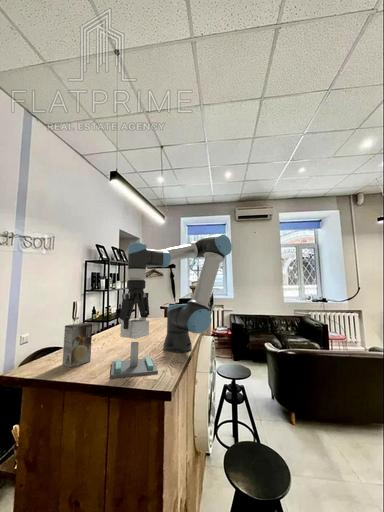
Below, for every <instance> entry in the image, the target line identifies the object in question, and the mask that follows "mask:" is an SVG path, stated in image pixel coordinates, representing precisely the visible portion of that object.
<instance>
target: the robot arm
mask: <svg viewBox="0 0 384 512" xmlns="http://www.w3.org/2000/svg"><path fill="white" fill-rule="evenodd" d="M232 247H233V246H232V242H231V239H230V238H229V237H228V236H227V235H225V234H223V233H220V234H215V235H211V236H206V237H203V238H200V239H197V240H194V241H189V242H188V243H187V244H183V245H178V246H173V247H167V248H163V249H151V248H148V247H147V244H146V243H144V242H131V243H130V244H128V252H127V281H126V282H127V283H126V288H127V290H128V291H127V293H122V295H121V299H122V300H121V307H120V314H119V320H121V321H124V327H123V328H124V337H123V338H126V339H127V338H128V339H131V338H130V336H131V321H130V320H131V317H132V313H133V309H134V306H135V305H136V304H137V308H138V312H139V315H140V316H139V317H138V319H141V320H147V318H149V315H150V305H149V296H150V295H149V292H145V291H144V290H145V289H146V284H147V283H146V281H147V280H145V279H147V272H146V271H147V268H158V267H161V268H166V267H169V266H170V264H171V263H172V262H176V261H180V260H185V259H190V258H191V259H196V258H204V261H203V264H202V267H201V270H200V274H199V276H198V280H197V281H196V282H197V283H196V286H195V289H194V292H193V296H192V298H191V299H190V300H188V301H187V303H182V304H181V303H180V304H171V305H168V306H167V310H166V311H167V312H166V315H167V316H166V317H167V318H166V319H167V320H166V335H165V339H164V341H163V347H162V348H163V350H164V352H165V351H166V352H169V353H185V351H186V352H189V351H192V348H193V346H192V341H191V337H190V333H191V334H203V333H205V332H206V331H208V330H209V328H210V326H211V323H212V316H211V315H212V314H211V313H210V310H211V308H210V306H209V302H210V300H211V295H212V293H213V292H212V291H213V290H214V285H215V282H216V279H217V275H218V271H219V269H220V265H221V263H224V261H225V258H226V256H229V254H231V252H232V249H233V248H232Z"/></svg>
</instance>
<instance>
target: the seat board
mask: <svg viewBox="0 0 384 512" xmlns="http://www.w3.org/2000/svg"><path fill="white" fill-rule="evenodd" d="M139 345H140V344H139V341H131V342H130V357H129V358H130V359H124V360H122V358H116V359H115V360H113V361H111V371H110V372H111V373H110V379H119V378H127V377H139V376H147V375H157V374H159V370H158V368H157V364H155V363H156V362H155V361H154V359H153V357H150V356H144V358H139Z"/></svg>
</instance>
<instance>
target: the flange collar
mask: <svg viewBox="0 0 384 512" xmlns="http://www.w3.org/2000/svg"><path fill="white" fill-rule="evenodd" d="M130 321H131V336H130V338H129V339H134V340H137V339H141V338H143V337H147V336H149V335H150V320H149V319H146V320H141V319H139V318H133V319H131V318H130ZM123 327H124V321H123V320H121V321H120V332H119V333H120V337H121V338H125V337H124V328H123Z"/></svg>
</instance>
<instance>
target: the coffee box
mask: <svg viewBox="0 0 384 512" xmlns="http://www.w3.org/2000/svg"><path fill="white" fill-rule="evenodd" d="M63 336H64V337H63V338H64V339H63V351H62V352H63V354H62V362H61V363H62V364H61V365H62V366H66V367H68V368H73V367H76V366H79V365H82V364H85V363H89V362H91V361H92V359H91V358H92V356H91V355H92V336H93V323H88V322H79V323H74V324H67V325H65V326H64V335H63Z"/></svg>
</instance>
